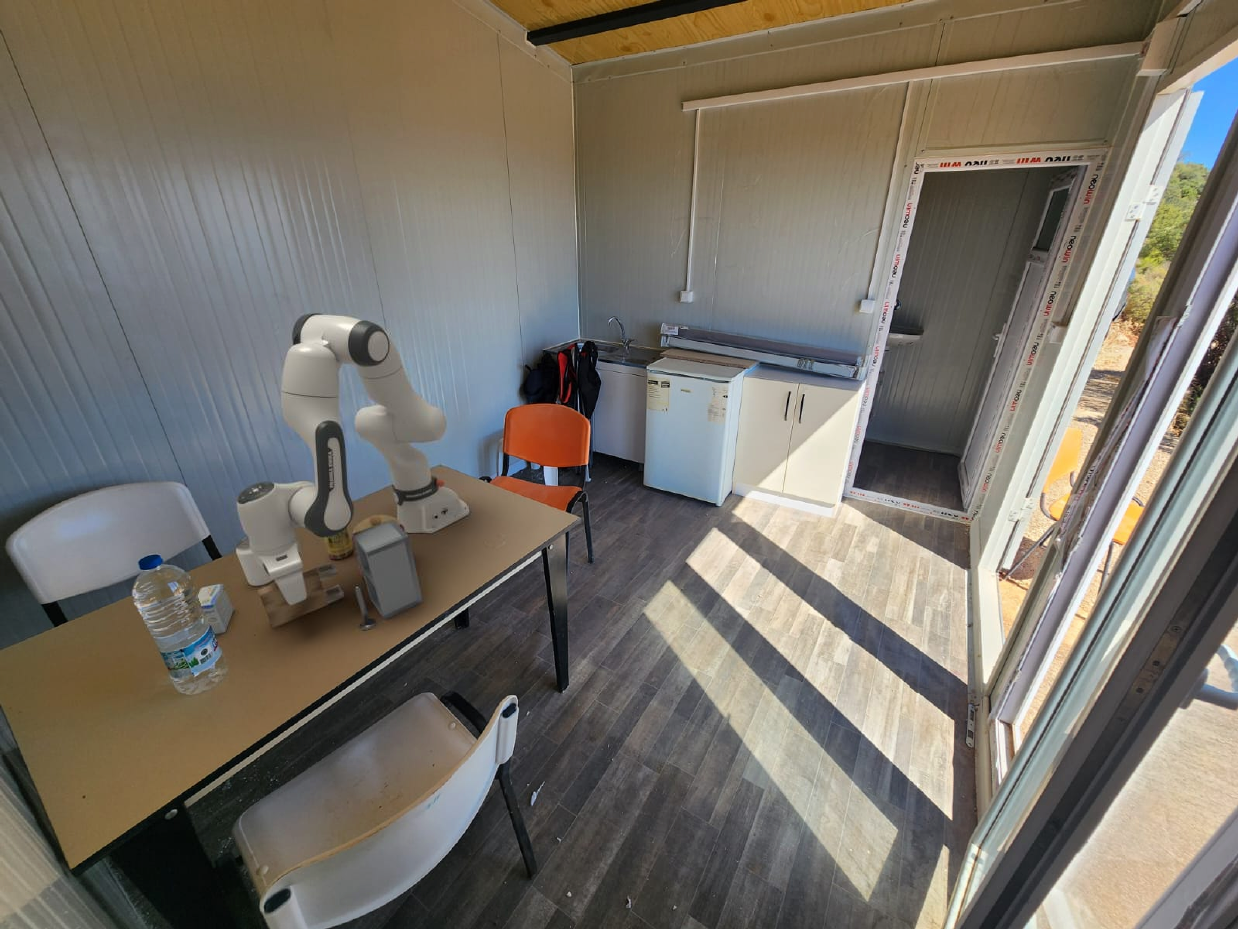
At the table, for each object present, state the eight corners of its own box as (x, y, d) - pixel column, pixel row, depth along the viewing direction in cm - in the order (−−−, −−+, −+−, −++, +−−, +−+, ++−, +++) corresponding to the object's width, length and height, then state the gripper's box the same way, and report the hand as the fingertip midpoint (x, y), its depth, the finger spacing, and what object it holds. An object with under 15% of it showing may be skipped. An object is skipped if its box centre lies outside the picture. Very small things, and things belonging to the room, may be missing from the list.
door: (340, 591, 128) (331, 560, 124) (345, 599, 125) (335, 567, 121) (269, 621, 118) (256, 588, 114) (273, 630, 116) (260, 597, 111)
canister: (376, 554, 142) (362, 502, 134) (419, 556, 142) (409, 504, 134) (351, 584, 131) (335, 528, 123) (399, 586, 130) (386, 530, 122)
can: (263, 588, 129) (249, 551, 123) (242, 585, 130) (227, 547, 124) (283, 573, 134) (270, 536, 129) (263, 569, 135) (249, 533, 130)
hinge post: (373, 617, 120) (362, 579, 115) (378, 625, 118) (368, 587, 112) (357, 624, 118) (346, 586, 113) (362, 632, 115) (351, 594, 110)
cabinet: (407, 582, 132) (392, 519, 123) (422, 601, 125) (408, 536, 116) (370, 598, 126) (352, 533, 117) (384, 619, 119) (366, 552, 110)
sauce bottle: (332, 563, 138) (314, 502, 129) (326, 553, 142) (308, 493, 134) (357, 554, 142) (341, 494, 133) (351, 544, 146) (334, 486, 138)
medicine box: (213, 615, 120) (200, 587, 116) (235, 610, 122) (222, 582, 118) (203, 638, 113) (189, 609, 110) (226, 632, 115) (213, 603, 111)
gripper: (252, 536, 117) (269, 581, 123) (270, 577, 104) (289, 626, 110) (282, 526, 121) (298, 571, 127) (304, 565, 108) (320, 613, 114)
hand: (294, 597), depth 118 cm, fingers closed on door, 2 cm apart
